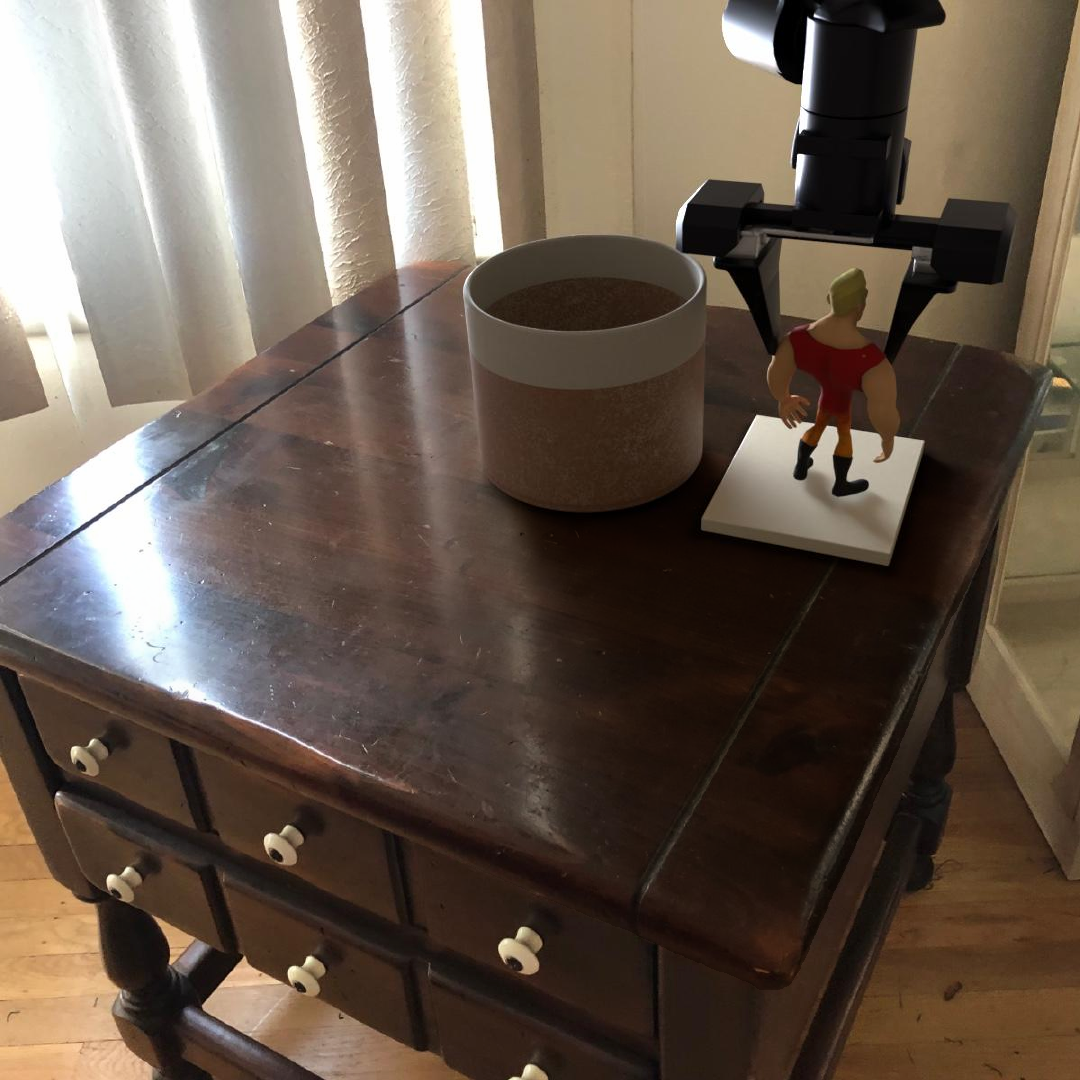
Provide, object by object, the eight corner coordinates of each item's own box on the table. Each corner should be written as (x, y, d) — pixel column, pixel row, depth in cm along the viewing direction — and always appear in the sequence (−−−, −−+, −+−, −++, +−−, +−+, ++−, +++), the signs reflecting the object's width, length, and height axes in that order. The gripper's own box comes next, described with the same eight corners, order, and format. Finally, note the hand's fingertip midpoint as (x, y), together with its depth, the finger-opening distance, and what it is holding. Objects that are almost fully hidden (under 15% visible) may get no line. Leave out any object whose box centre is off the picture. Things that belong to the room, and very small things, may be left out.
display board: (923, 452, 81) (925, 440, 81) (888, 566, 71) (890, 553, 70) (755, 426, 85) (756, 414, 85) (700, 530, 75) (701, 518, 75)
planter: (709, 408, 88) (715, 234, 80) (692, 528, 75) (697, 337, 67) (507, 400, 91) (492, 231, 83) (458, 514, 78) (435, 329, 70)
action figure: (904, 496, 75) (941, 280, 66) (874, 520, 73) (908, 301, 64) (782, 446, 81) (801, 241, 72) (752, 467, 79) (767, 259, 70)
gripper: (1047, 73, 66) (999, 324, 75) (729, 60, 72) (721, 292, 82) (1030, 131, 58) (979, 405, 67) (674, 111, 64) (672, 362, 73)
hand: (829, 360), depth 72 cm, fingers closed on action figure, 7 cm apart
